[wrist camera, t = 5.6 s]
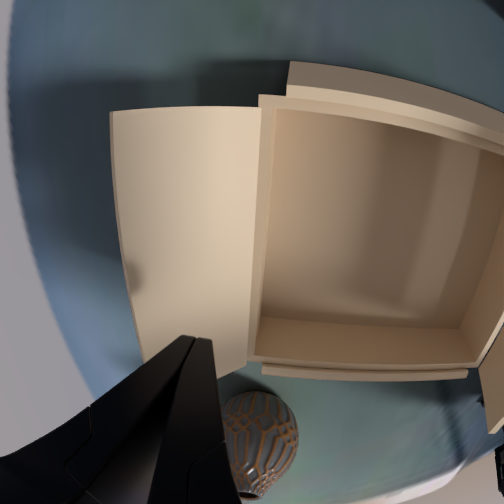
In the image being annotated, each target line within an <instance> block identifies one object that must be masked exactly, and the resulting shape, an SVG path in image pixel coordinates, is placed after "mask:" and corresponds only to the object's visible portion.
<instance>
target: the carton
mask: <svg viewBox="0 0 504 504" xmlns="http://www.w3.org/2000/svg"><path fill="white" fill-rule="evenodd" d="M258 107H260V108H262V110H261V128H260V145H259V162H258V179H257V196H256V213H255V230H254V247H253V264H252V280H251V297H250V314H249V330H248V347H247V361H253V362H261V363H263V364H262V372H261V374H264V375H273V376H283V377H294V378H307V379H321V380H341V381H428V380H446V379H460V378H466V377H467V374H468V372H469V371H468V370H467V369H466V368H475V367H478V366H479V364H480V363H481V361H482V359H483V358H484V356H485V355H486V353H487V351H488V349H489V348H490V346H491V344H492V343H493V341H494V339H495V337H496V335H497V334H498V332H499V330H500V328H501V326H502V324H503V322H504V113H502V112H500V111H497V110H495V109H493V108H490V107H488V106H485V105H483V104H480V103H478V102H475V101H472V100H470V99H467V98H464V97H461V96H458V95H455V94H452V93H449V92H446V91H443V90H440V89H437V88H433V87H430V86H427V85H423V84H420V83H416V82H412V81H408V80H404V79H400V78H396V77H392V76H387V75H383V74H378V73H373V72H368V71H363V70H358V69H352V68H346V67H339V66H332V65H325V64H317V63H308V62H298V61H290V67H289V73H288V80H287V91H286V96H278V95H262V94H259V101H258Z"/></svg>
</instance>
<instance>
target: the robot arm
mask: <svg viewBox="0 0 504 504" xmlns="http://www.w3.org/2000/svg"><path fill="white" fill-rule="evenodd" d="M481 405H482V407H485V404H484V400H483V401H482V402H481ZM501 428H502V429H503V432H504V425H503V426H502V427H501ZM495 455H496V456H495V462H496V470H497V479H498V490H499V492H501V493H502V495H503V497H504V444H503V445H501V446H499V447H497V448H496V449H495ZM0 504H242V501H241V499H240V496H239V493H238V490H237V487H236V484H235V481H234V478H233V474H232V470H231V465H230V461H229V456H228V450H227V444H226V438H225V432H224V425H223V418H222V412H221V405H220V397H219V390H218V383H217V375H216V367H215V359H214V351H213V342H212V340H211V339H209V338H202V337H198V338H196V337H195V336H190V335H180V336H179V337H178V338H176V339H175V340H174V341H172V342H171V343H170V344H169V345H167V346H166V347H165V348H164V349H162V350H161V351H160V352H158V353H157V354H156V355H155V356H153V357H152V358H151V359H149V360H148V361H147V362H146V363H144V364H143V365H142V366H140V367H139V368H138V369H136V370H135V371H134V372H133V373H131V374H130V375H129V376H127V377H126V378H125V379H123V380H122V381H121V382H120V383H118V384H117V385H116V386H114V387H113V388H112V389H110V390H109V391H108V392H106V393H105V394H104V395H103V396H101V397H100V398H99V399H97V400H96V401H95V402H93V403H92V404H91V405H90V407H86V408H85V409H84V410H82V411H81V412H80V413H78V414H77V415H76V416H74V417H73V418H71V419H70V420H68V421H67V422H66V423H64V424H63V425H61V426H59V427H58V428H56V429H55V430H53V431H51V432H50V433H48V434H46V435H44V436H43V437H41V438H39V439H37V440H35V441H34V442H32V443H30V444H28V445H26V446H24V447H23V448H21V449H19V450H17V451H15V452H13V453H11V454H9V455H6V456H3V457H0Z"/></svg>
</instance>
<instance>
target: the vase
mask: <svg viewBox="0 0 504 504" xmlns="http://www.w3.org/2000/svg"><path fill="white" fill-rule="evenodd" d="M221 412H222V418H223V425H224V432H225V438H226V444H227V450H228V456H229V461H230V465H231V470H232V474H233V478H234V481H235V484H236V487H237V490H238V493H239V496H240V499H241V500H259V499H261V498H262V497H263V495H264V494H265V492H266V491H267V490H268V489H269V487H270V486H272V485H273V484H274V483H275V482H276V481H277V480H278V479H279V478H281V477H282V476H283V475H284V474H285V473H286V472H287V470H288V469H289V468H290V466H291V464H292V462H293V460H294V458H295V455H296V452H297V448H298V441H299V435H298V426H297V422H296V419H295V416H294V414H293V412H292V411H291V409H290V408H289V407H288V406H287V404H286V403H285V402H283V401H282V400H281V399H279V398H278V397H276V396H274V395H272V394H270V393H266V392H261V391H250V392H245V393H242V394H239V395H237V396H235V397H233V398H231V399H230V400H228V401H227V402H226V403H225V404H224V405H223V406H222V407H221Z"/></svg>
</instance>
